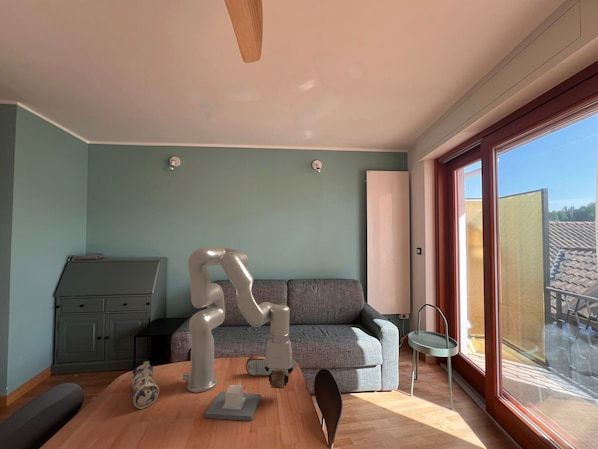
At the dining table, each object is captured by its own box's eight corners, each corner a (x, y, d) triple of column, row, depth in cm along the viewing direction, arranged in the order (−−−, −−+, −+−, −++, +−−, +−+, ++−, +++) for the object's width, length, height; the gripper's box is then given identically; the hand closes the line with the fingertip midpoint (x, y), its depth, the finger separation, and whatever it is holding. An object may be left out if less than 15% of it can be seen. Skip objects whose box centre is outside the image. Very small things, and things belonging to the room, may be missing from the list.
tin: (278, 373, 120) (278, 355, 121) (277, 376, 117) (277, 358, 118) (246, 373, 121) (246, 355, 121) (244, 376, 118) (245, 358, 118)
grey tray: (204, 417, 91) (204, 412, 91) (220, 395, 104) (220, 391, 104) (251, 420, 89) (251, 415, 89) (260, 397, 102) (260, 393, 102)
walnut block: (271, 387, 99) (271, 374, 100) (273, 380, 104) (274, 368, 104) (283, 388, 99) (284, 375, 99) (285, 381, 104) (286, 368, 104)
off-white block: (225, 406, 94) (225, 392, 94) (230, 398, 99) (230, 384, 99) (238, 407, 94) (238, 393, 94) (242, 398, 99) (243, 385, 99)
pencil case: (130, 387, 110) (131, 364, 111) (153, 380, 115) (153, 358, 116) (132, 415, 92) (133, 387, 93) (159, 406, 97) (159, 380, 98)
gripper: (256, 339, 100) (255, 387, 99) (299, 342, 98) (298, 391, 97) (261, 332, 107) (260, 376, 106) (301, 334, 105) (300, 380, 104)
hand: (278, 383), depth 101 cm, fingers closed on walnut block, 5 cm apart
